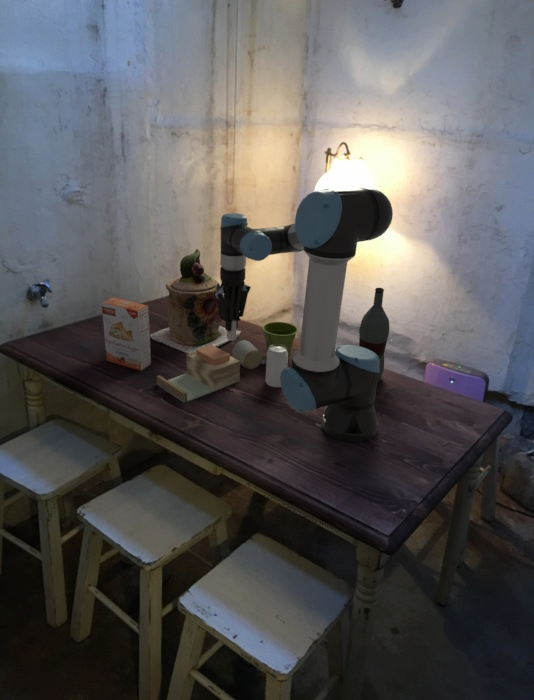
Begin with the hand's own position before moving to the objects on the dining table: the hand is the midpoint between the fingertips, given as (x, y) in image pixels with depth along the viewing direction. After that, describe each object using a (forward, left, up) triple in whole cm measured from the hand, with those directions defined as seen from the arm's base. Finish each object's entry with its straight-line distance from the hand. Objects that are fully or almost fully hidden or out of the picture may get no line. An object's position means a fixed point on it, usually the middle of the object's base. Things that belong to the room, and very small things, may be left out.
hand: (231, 339), depth 180 cm
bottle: (-31, -31, -11) cm, 46 cm away
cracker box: (+25, +23, -11) cm, 35 cm away
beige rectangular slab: (0, +8, -11) cm, 13 cm away
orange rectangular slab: (0, +8, -4) cm, 9 cm away
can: (-15, -5, -11) cm, 20 cm away
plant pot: (-3, -18, -11) cm, 22 cm away
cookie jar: (+28, -7, -12) cm, 31 cm away
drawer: (0, +18, -11) cm, 21 cm away
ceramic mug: (0, -8, -12) cm, 14 cm away
